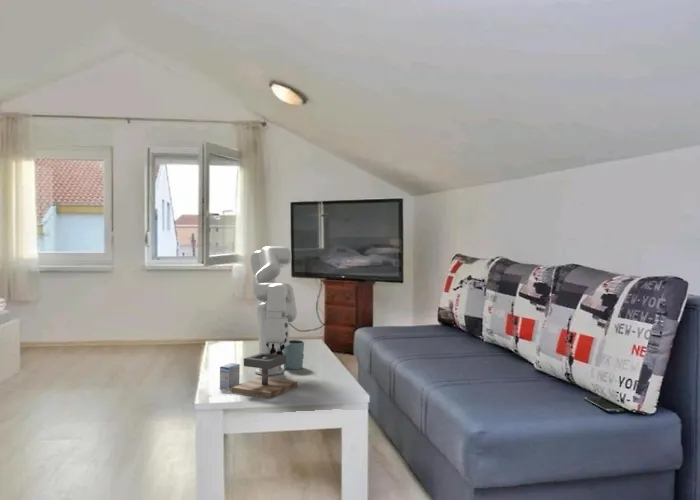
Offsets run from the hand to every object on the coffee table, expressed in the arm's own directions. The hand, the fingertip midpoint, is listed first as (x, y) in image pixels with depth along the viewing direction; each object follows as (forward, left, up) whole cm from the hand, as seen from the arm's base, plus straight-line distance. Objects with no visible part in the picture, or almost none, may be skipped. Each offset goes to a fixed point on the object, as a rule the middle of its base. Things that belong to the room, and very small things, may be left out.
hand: (276, 359), depth 239 cm
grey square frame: (+6, 0, 0) cm, 6 cm away
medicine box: (+10, -15, -11) cm, 21 cm away
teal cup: (-30, -11, -10) cm, 34 cm away
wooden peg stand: (+7, 0, -10) cm, 13 cm away
